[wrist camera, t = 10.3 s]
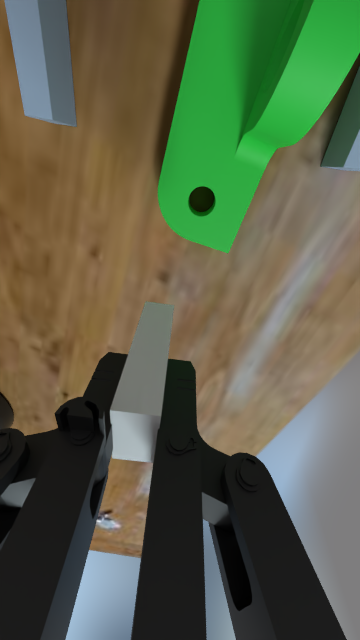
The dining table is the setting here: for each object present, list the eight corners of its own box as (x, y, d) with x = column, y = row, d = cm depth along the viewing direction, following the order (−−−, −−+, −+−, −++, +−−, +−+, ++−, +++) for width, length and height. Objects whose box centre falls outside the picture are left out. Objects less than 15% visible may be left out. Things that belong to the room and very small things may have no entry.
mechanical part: (210, -24, 12) (222, -261, 5) (317, 27, 12) (450, -127, 6) (153, 220, 18) (126, 254, 12) (225, 245, 19) (239, 290, 12)
